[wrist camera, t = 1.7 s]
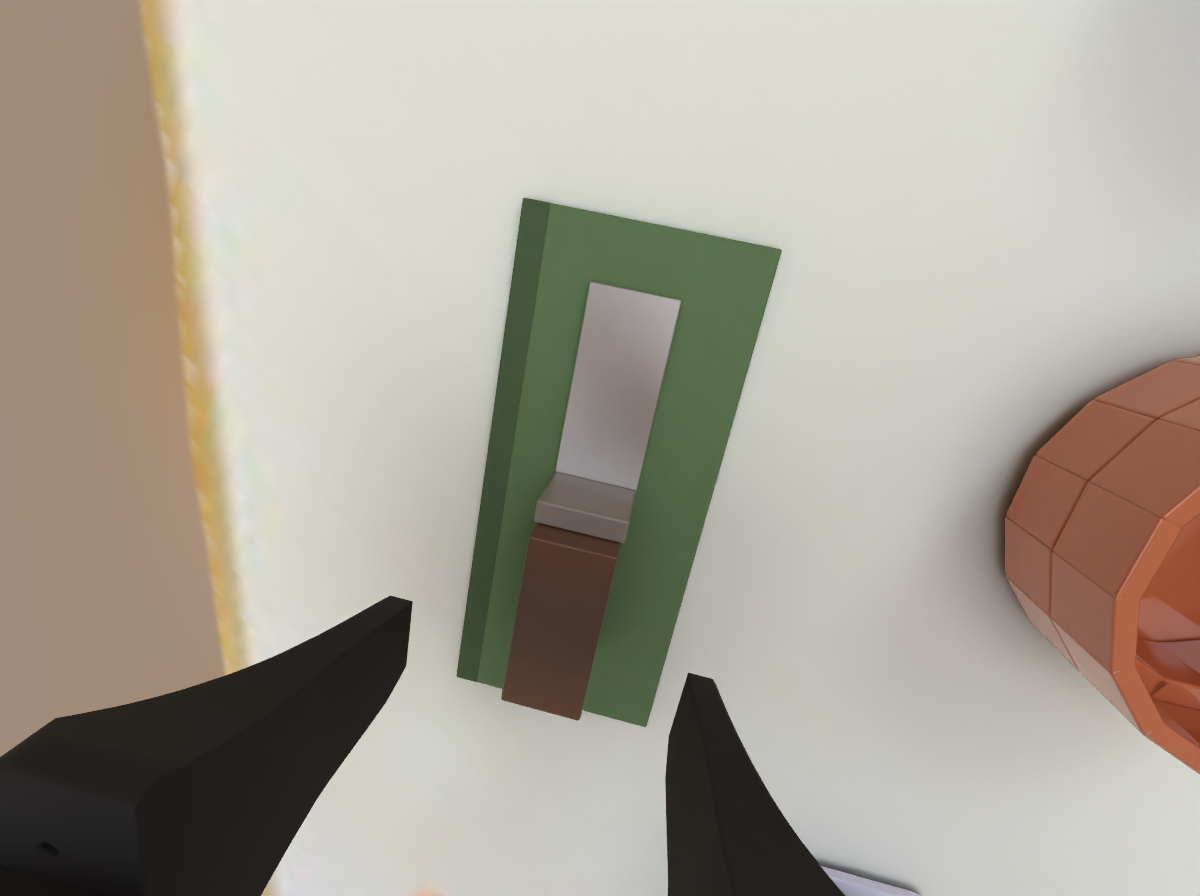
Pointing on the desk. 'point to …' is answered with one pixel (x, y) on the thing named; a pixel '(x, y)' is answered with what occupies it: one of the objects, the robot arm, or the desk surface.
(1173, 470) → the bowl
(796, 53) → the desk surface
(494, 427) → the green flat rectangular slab
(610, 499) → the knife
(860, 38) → the desk surface
